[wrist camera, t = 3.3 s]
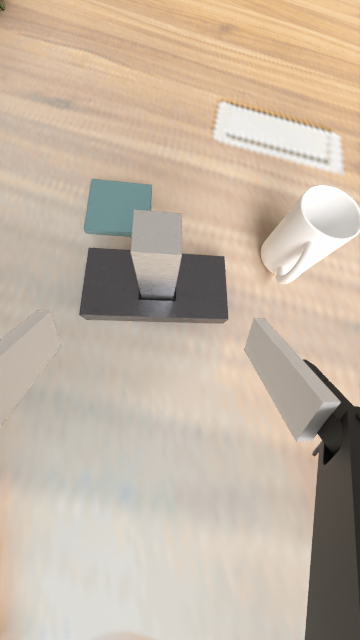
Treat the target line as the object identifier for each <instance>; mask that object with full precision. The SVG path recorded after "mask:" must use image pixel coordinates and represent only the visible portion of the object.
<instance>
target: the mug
mask: <svg viewBox="0 0 360 640" xmlns="http://www.w3.org/2000/svg"><path fill="white" fill-rule="evenodd" d="M359 232H360V208H359V206H358V205H357V203H356V202H355V201H354V200H353V199H352V198H351V197H350V196H349V195H348V194H346V193H345V192H343V191H342V190H340V189H338V188H335V187H332V186H328V185H317V186H313V187H311V188H309V189H308V190H307V191H305V192H304V194H303V195H302V196H301V197H300V199H299V200H298V201H297V202H296V203H295V205H294V206H293V207H292V208H291V210H290V211H289V212H288V213H287V214H286V216H285V217H284V218H283V219H282V221H281V222H280V223H279V224H278V225H277V227H276V228H275V229H274V230H273V232H272V233H271V234H270V235H269V236H268V238H267V239H266V240H265V242H264V243H263V245H262V248H261V259H262V261H263V264H264V265H265V267H266V268H267V269H268V270H269V271H270V272H271V273H273V274H275V275H276V280H277V282H278V283H280V284H287V283H290V282H291V281H293V280H294V279H296V278H297V277H298V276H299V275H300V274H301V273H302V272H304V271H305V270H307V269H308V268H310V267H311V266H313V265H314V264H316V263H317V262H319V261H320V260H321V259H323V258H324V257H326V256H327V255H329V254H330V253H332V252H333V251H335V250H336V249H338V248H339V247H341V246H342V245H343V244H345V243H346V242H348V241H349V240H351V239H352V238H354V237H355V236H356V235H357V234H358V233H359Z"/></svg>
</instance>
